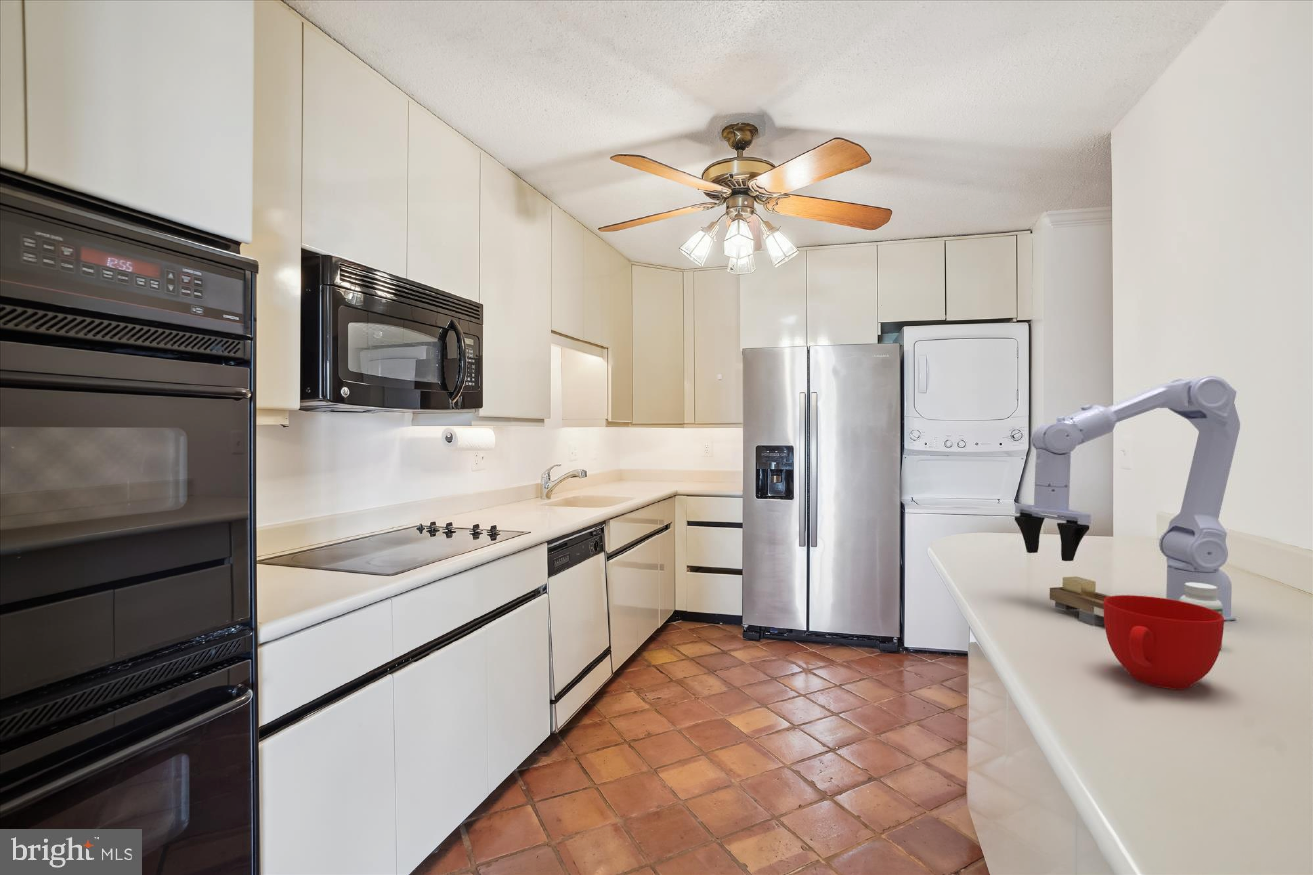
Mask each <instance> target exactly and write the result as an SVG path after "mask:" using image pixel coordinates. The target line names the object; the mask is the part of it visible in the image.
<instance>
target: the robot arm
mask: <svg viewBox="0 0 1313 875" xmlns="http://www.w3.org/2000/svg"><path fill="white" fill-rule="evenodd" d="M1236 396H1237V390H1235V388H1233V387H1232V386H1231V384H1230V383H1228V381H1226V379H1224V378H1222V377H1219V376H1215V375H1206V376H1201V377H1195V378H1186V379H1174V380H1172V381H1169V382H1167V383H1162V384H1158V385H1156V386H1153V387H1150V388H1148V389H1146V390H1143V391H1141V392H1139V393H1137V394H1135V395H1132V396H1130V397H1128V398H1126V399H1124V400H1122V401H1119V402H1117V403H1116V402H1115V404H1112V405H1109V406H1107V407H1105V406H1102V405H1099V404H1095V405H1093V406H1092V404H1087V405H1086V404H1085V405H1083V406H1081V407H1080V409H1081V410H1080V411H1077V412H1075V413H1073V414H1070V415H1068V416H1063V415H1062V416H1058V417H1056V422H1055V423H1044V424H1041V425H1040V426H1038V427H1037V428H1036V430H1034V432H1033V433H1032V436H1031V437H1030V443H1031V446H1032V447H1033V448H1034V450H1035V461H1034V462H1035V464H1034V468H1035V469H1034V490H1033V491H1034V495H1033V505H1032V504H1027V503H1026V504H1024V503H1016V504H1015V505H1014V506H1015V507H1014V509H1015V510H1014V513H1015V514H1016V515H1018V516H1014V522H1015V523H1016V524H1017V526H1018V527H1019V530H1020V532H1021V535H1022V537H1023V538H1022V539H1023V542H1024V546H1025V550H1026V553H1028V554H1037V553H1038V552H1039V547H1040V535H1041V530H1042V527H1043V523H1044V521H1045V519H1050V520H1056V521H1061V522H1057V523H1056V526H1057V528H1058V533H1059V538H1060V557H1061V561H1062V562H1074V560H1075V557H1076V556H1075V555H1076V553H1077V551H1078V548H1079V546H1080V543H1081V541H1082V539H1084V536H1085V535H1086V534H1087V532H1088V531H1089V530H1090V525H1091V521H1092V520H1091V519H1092V518H1091V517H1092V516H1091V515H1092V514H1091V513H1087V512H1081V511H1077V510H1073V509H1070V490H1071V489H1070V488H1071V487H1070V482H1071V457H1072V456H1071V453H1072V452H1073V451H1074V450H1075V449H1076V448H1077V446H1080V445H1083V444H1085V443H1088V442H1090V441H1092V440H1095V439H1097V438H1100V437H1103V436H1105V435H1107V434H1111V433H1112V432H1113V430H1114V429H1115V427H1116V424H1117V423H1120V422H1122V421H1124V420H1128V419H1130V418H1134V417H1136V416H1139V415H1141V414H1146V413H1147V412H1150V411H1153V410H1155V409H1168V410H1169V411H1171V412H1173V413H1174V414H1176V415H1179V416H1180V417H1181V418H1183V419H1185V420H1187V421H1188V422H1189V423H1190V424H1191V425H1192V426H1193V427H1194V428H1195V429H1196V430H1197V431H1198V434H1197V439H1196V443H1195V446H1194V447H1195V448H1194V452H1193V456H1192V460H1191V464H1190V465H1191V466H1190V469H1189V474H1188V478H1187V483H1186V487H1185V491H1184V495H1183V499H1182V503H1181V506H1180V507H1181V508H1180V512H1179V513H1178V514H1176V515H1175V516H1174V517H1173V518H1171V519H1170V521H1169V522H1168V527H1167V528H1166V531H1165V532H1164V533H1162V535H1161V536H1160V538H1159V542H1158V547H1159V551H1160V552H1161V553H1162V555H1163V556H1164V557H1165V558H1166V565H1167V566H1166V594H1165V595H1166V598H1165V599H1171V600H1176V601H1179V599H1180V597H1181V596H1183V595H1187V593H1186V592H1185V591H1184V586H1185V583H1189V582H1194V583H1203V584H1209V585H1213V586H1216V587H1217V593H1218V594H1217V596H1216V597H1215V599H1217V600H1219V601H1220V602H1221V603H1222V606H1223V614H1222V616H1223V617H1224V621H1231V620H1233V621H1234V620H1237V617H1236V616H1234V615H1232V592H1233V591H1232V581H1231V578H1230V577H1229V576H1228V574H1227V573H1226V572H1224V571H1223V570H1222V569H1220V568H1221V567H1223V566H1224V564H1226V562H1227V561H1228V557H1229V550H1228V546H1227V542H1226V539H1227V534H1228V533H1227V531H1226V529H1225V528H1224V527H1223V525H1222V524H1221V522H1220V521H1219V518H1220V515H1221V514H1220V513H1221V510H1222V505H1223V501H1224V497H1225V493H1226V488H1227V484H1228V480H1229V476H1230V472H1231V467H1232V463H1233V458H1234V454H1235V451H1236V450H1235V449H1236V446H1237V442H1238V438H1239V433H1240V429H1241V422H1240V419H1239V414H1238V411H1237V407H1236V404H1235V402H1236V401H1235V400H1236ZM1062 521H1063V522H1062Z"/></svg>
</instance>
